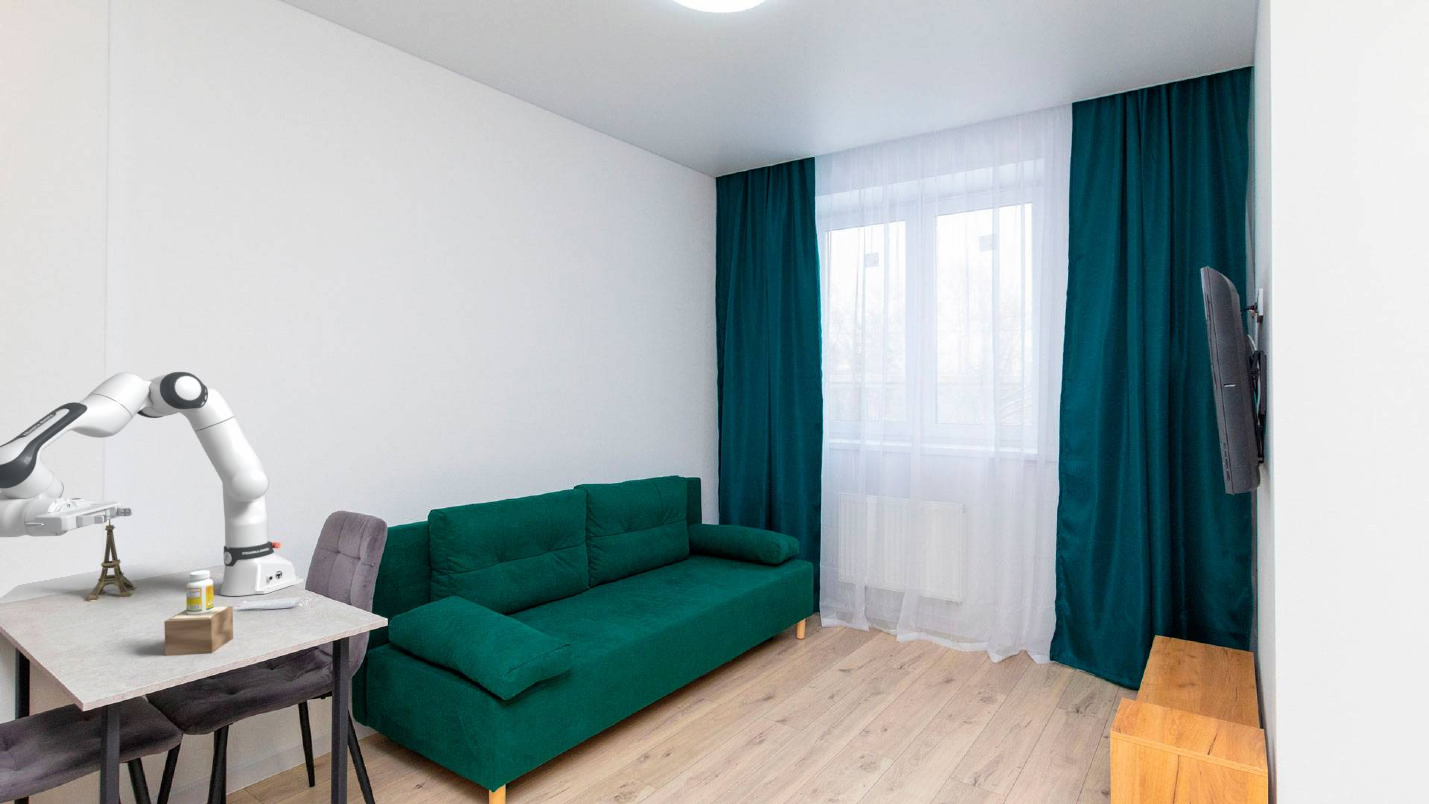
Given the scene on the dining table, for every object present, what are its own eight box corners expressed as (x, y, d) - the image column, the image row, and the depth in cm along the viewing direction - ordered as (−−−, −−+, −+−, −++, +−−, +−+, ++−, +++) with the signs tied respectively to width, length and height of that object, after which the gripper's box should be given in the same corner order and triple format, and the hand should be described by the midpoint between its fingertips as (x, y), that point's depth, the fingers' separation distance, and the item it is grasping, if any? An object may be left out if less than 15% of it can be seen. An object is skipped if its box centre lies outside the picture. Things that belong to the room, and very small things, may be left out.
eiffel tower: (84, 602, 213) (82, 516, 212) (93, 593, 222) (90, 510, 222) (130, 596, 218) (128, 513, 218) (137, 588, 227) (135, 507, 227)
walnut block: (189, 640, 181) (188, 607, 181) (233, 638, 183) (232, 605, 182) (165, 655, 171) (164, 620, 171) (211, 653, 173) (211, 618, 172)
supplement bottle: (190, 616, 173) (189, 576, 173) (183, 612, 177) (182, 572, 177) (217, 611, 177) (216, 571, 177) (209, 606, 181) (209, 568, 181)
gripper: (17, 511, 162) (87, 509, 164) (82, 497, 183) (144, 495, 185) (18, 539, 163) (88, 537, 165) (83, 522, 183) (144, 520, 185)
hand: (118, 515), depth 175 cm, fingers open, 8 cm apart
